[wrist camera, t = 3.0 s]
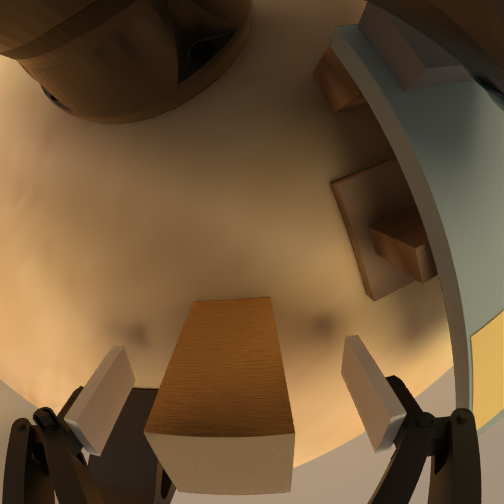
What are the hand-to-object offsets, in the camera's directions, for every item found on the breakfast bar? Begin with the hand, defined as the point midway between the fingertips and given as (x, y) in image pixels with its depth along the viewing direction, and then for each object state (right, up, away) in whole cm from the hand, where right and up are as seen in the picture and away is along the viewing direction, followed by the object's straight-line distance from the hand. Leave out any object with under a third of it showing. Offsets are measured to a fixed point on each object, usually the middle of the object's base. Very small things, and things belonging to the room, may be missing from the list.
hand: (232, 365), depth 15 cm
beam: (+14, +8, -6) cm, 17 cm away
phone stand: (-8, -9, +6) cm, 14 cm away
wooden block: (0, +1, +4) cm, 4 cm away
